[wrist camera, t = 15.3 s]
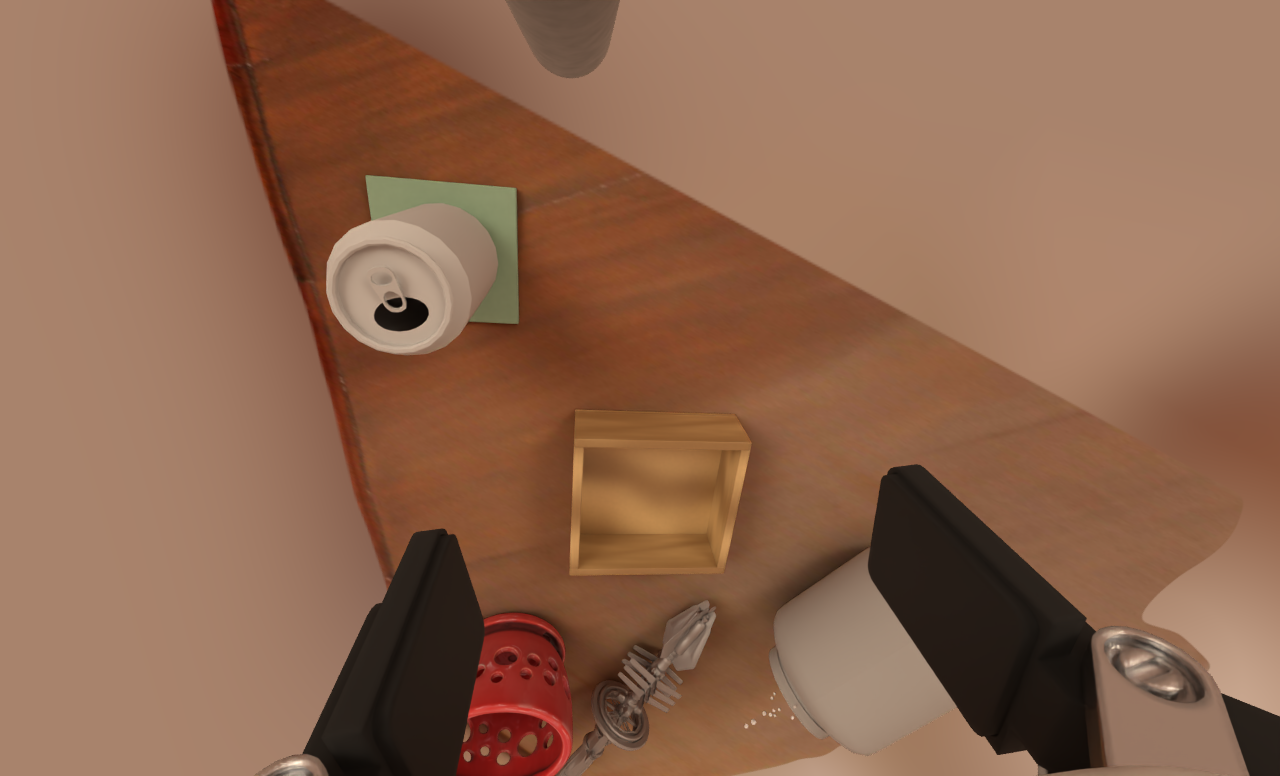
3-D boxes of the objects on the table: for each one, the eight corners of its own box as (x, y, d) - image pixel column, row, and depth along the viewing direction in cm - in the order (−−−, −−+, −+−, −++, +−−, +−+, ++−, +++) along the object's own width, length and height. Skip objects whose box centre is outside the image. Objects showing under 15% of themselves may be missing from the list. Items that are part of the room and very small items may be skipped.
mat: (367, 175, 34) (365, 175, 33) (516, 188, 35) (515, 188, 34) (386, 315, 38) (384, 317, 37) (519, 322, 39) (518, 324, 39)
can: (417, 314, 38) (350, 379, 27) (375, 213, 34) (280, 241, 23) (512, 294, 38) (484, 350, 27) (480, 191, 34) (433, 209, 24)
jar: (967, 647, 56) (788, 771, 57) (873, 535, 62) (713, 648, 63) (1048, 687, 39) (790, 863, 39) (908, 526, 45) (686, 681, 46)
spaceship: (497, 821, 56) (553, 866, 55) (679, 606, 49) (743, 654, 48) (524, 760, 64) (573, 799, 63) (684, 566, 57) (739, 608, 56)
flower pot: (573, 674, 58) (571, 792, 47) (459, 680, 57) (429, 804, 46) (575, 595, 53) (573, 708, 42) (448, 599, 51) (412, 717, 40)
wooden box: (575, 409, 43) (574, 438, 38) (735, 413, 45) (752, 442, 40) (570, 537, 49) (569, 575, 45) (711, 536, 51) (723, 573, 47)
